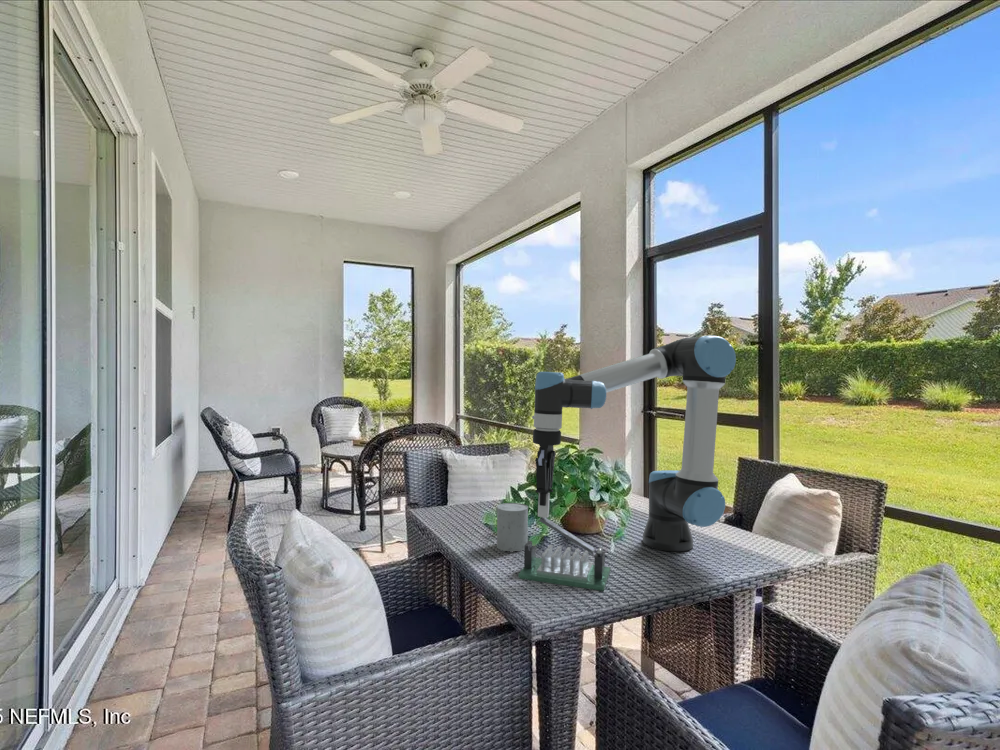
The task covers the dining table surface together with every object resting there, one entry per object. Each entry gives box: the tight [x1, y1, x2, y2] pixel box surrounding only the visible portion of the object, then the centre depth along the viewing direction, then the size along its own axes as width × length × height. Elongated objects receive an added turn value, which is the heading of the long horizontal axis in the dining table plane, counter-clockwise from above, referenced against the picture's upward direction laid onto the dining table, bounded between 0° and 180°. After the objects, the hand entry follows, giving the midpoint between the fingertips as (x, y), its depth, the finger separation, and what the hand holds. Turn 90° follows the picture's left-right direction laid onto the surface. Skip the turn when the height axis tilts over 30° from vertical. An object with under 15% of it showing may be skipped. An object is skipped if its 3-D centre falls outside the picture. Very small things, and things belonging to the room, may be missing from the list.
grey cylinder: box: [496, 502, 529, 553], centre depth 160 cm, size 10×10×12 cm
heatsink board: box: [518, 540, 611, 592], centre depth 138 cm, size 22×13×7 cm, turn 71°
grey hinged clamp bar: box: [538, 517, 604, 556], centre depth 137 cm, size 18×3×2 cm, turn 71°
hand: (543, 516), depth 140 cm, fingers closed
